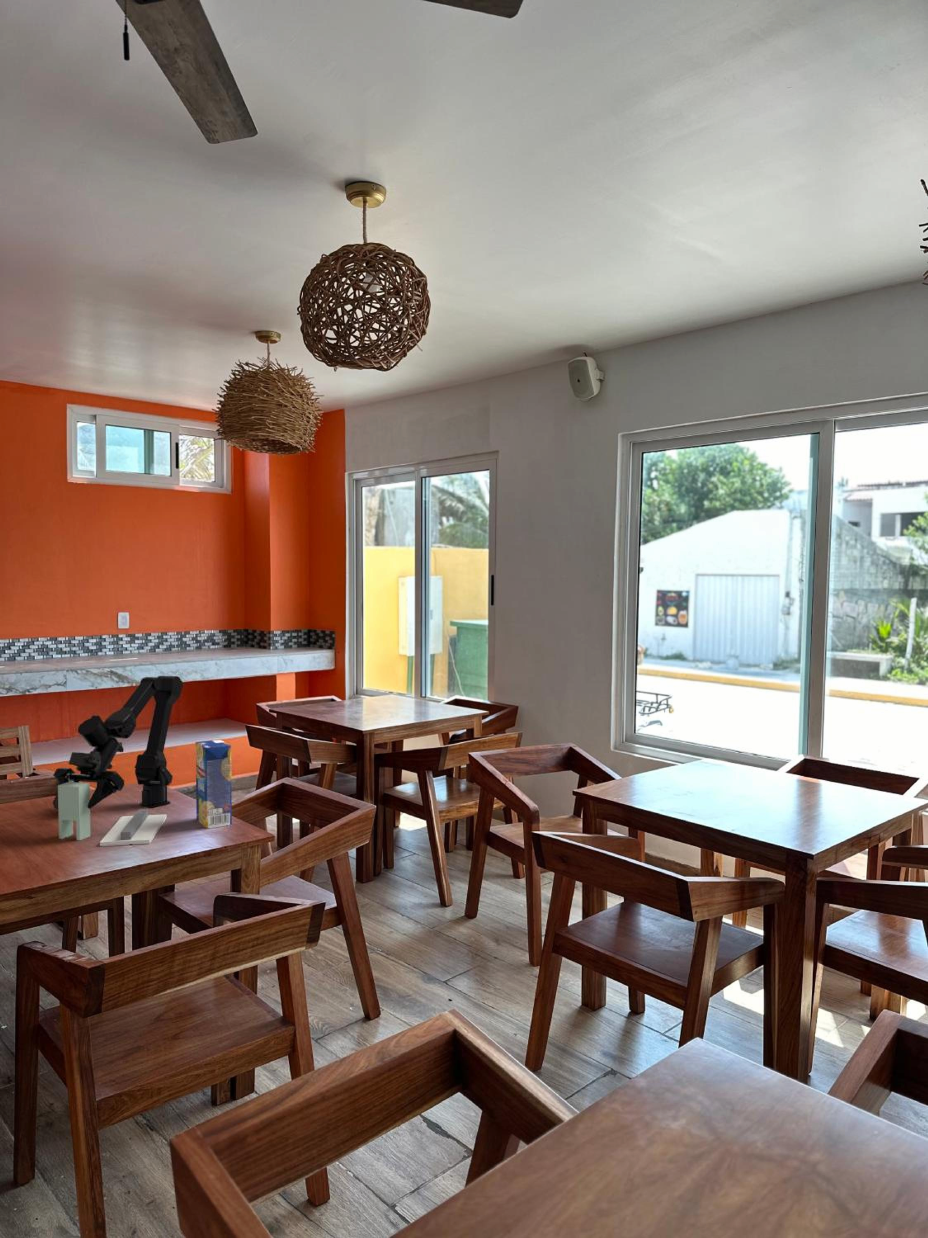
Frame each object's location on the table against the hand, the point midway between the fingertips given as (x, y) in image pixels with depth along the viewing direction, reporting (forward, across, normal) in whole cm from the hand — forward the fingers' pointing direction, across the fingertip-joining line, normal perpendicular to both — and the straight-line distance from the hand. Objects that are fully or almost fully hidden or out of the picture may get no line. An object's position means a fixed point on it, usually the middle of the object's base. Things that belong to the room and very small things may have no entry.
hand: (73, 806), depth 216 cm
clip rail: (-1, +12, +12) cm, 17 cm away
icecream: (-8, -20, +20) cm, 29 cm away
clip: (+6, 0, +6) cm, 8 cm away
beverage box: (-10, +28, +22) cm, 36 cm away
